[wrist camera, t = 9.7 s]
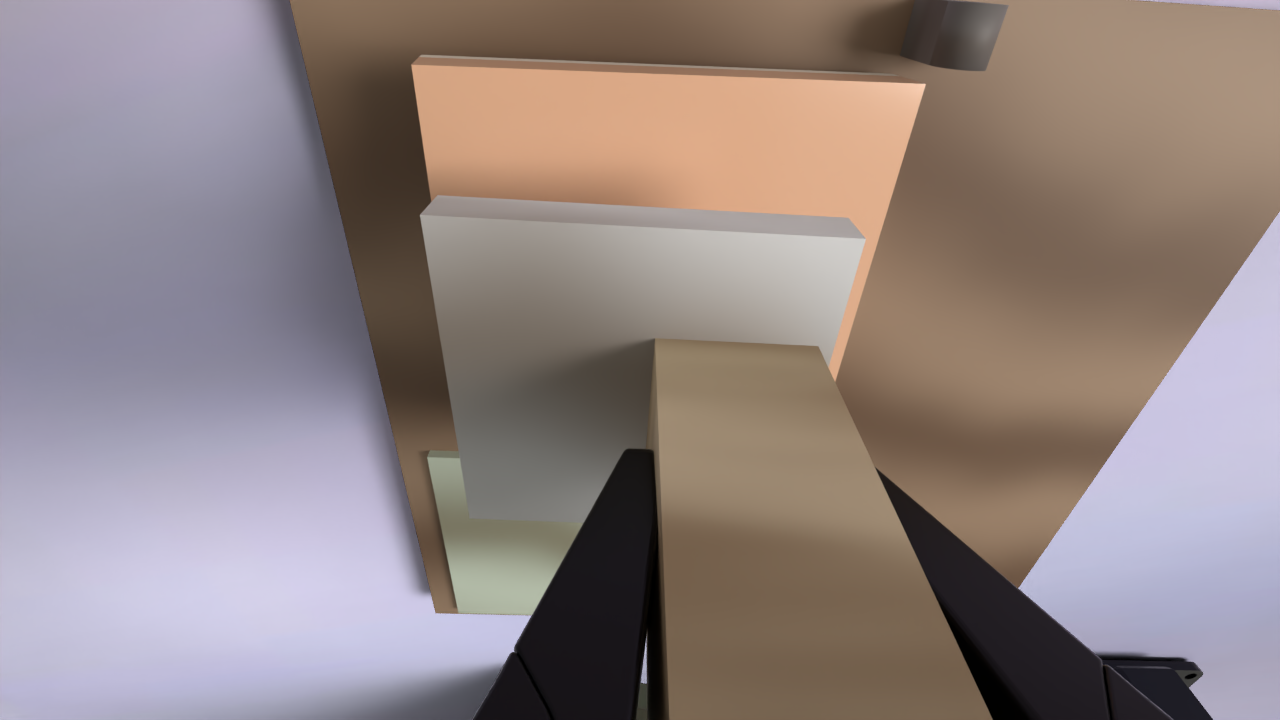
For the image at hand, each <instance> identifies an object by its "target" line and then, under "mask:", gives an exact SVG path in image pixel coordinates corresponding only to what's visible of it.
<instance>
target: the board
mask: <svg viewBox="0 0 1280 720" xmlns="http://www.w3.org/2000/svg"><path fill="white" fill-rule="evenodd" d="M290 5H291V9H292V13H293V17H294V21H295V26H296V30H297V34H298V38H299V42H300V46H301V51H302V55H303V59H304V63H305V67H306V72H307V76H308V80H309V84H310V88H311V93H312V97H313V101H314V105H315V109H316V114H317V118H318V122H319V126H320V130H321V135H322V139H323V143H324V147H325V151H326V155H327V160H328V164H329V168H330V172H331V176H332V181H333V185H334V189H335V193H336V197H337V202H338V206H339V210H340V214H341V218H342V223H343V227H344V231H345V235H346V239H347V244H348V248H349V252H350V256H351V260H352V264H353V269H354V273H355V277H356V281H357V285H358V290H359V294H360V298H361V302H362V306H363V311H364V315H365V319H366V323H367V327H368V332H369V336H370V340H371V344H372V348H373V353H374V357H375V361H376V365H377V369H378V373H379V378H380V382H381V386H382V390H383V394H384V399H385V403H386V407H387V411H388V415H389V420H390V424H391V428H392V432H393V436H394V441H395V445H396V449H397V453H398V457H399V462H400V466H401V470H402V474H403V478H404V482H405V487H406V491H407V495H408V499H409V503H410V508H411V512H412V516H413V520H414V524H415V529H416V533H417V537H418V541H419V545H420V550H421V554H422V558H423V562H424V566H425V571H426V575H427V579H428V583H429V587H430V591H431V596H432V600H433V604H434V608H435V612H436V613H452V614H496V615H532V614H533V612H534V611H535V609H536V607H537V605H538V603H539V602H540V600H541V598H542V596H543V594H544V593H545V591H546V589H547V587H548V585H549V584H550V582H551V580H552V578H553V576H554V575H555V573H556V571H557V569H558V568H559V566H560V564H561V562H562V560H563V559H564V557H565V555H566V553H567V551H568V550H569V548H570V546H571V544H572V542H573V541H574V539H575V537H576V535H577V534H578V532H579V530H580V528H581V526H582V525H583V523H575V522H549V521H523V520H496V519H470V518H469V512H468V506H467V499H466V493H465V487H464V481H463V475H462V469H461V463H460V457H459V451H458V444H457V438H456V432H455V426H454V420H453V414H452V408H451V402H450V396H449V389H448V383H447V377H446V371H445V365H444V359H443V353H442V347H441V341H440V335H439V328H438V322H437V316H436V310H435V304H434V298H433V292H432V286H431V280H430V273H429V267H428V261H427V255H426V249H425V243H424V237H423V231H422V225H421V218H420V214H421V213H422V212H423V211H424V210H425V209H426V208H427V206H428V205H429V204H430V203H431V196H430V189H429V182H428V175H427V169H426V162H425V155H424V148H423V141H422V134H421V128H420V121H419V114H418V107H417V100H416V93H415V87H414V80H413V73H412V66H411V64H412V63H413V62H414V61H415V60H416V59H417V58H418V57H419V56H420V55H441V56H466V57H491V58H515V59H540V60H565V61H590V62H614V63H639V64H664V65H689V66H713V67H738V68H763V69H788V70H812V71H837V72H862V73H887V74H894V75H898V76H901V77H904V78H908V79H911V80H914V81H918V82H921V83H925V84H926V85H925V89H924V92H923V95H922V98H921V102H920V105H919V108H918V112H917V115H916V118H915V121H914V125H913V128H912V131H911V135H910V138H909V141H908V144H907V148H906V151H905V154H904V158H903V161H902V164H901V167H900V171H899V174H898V177H897V181H896V184H895V187H894V190H893V194H892V197H891V200H890V204H889V207H888V210H887V213H886V217H885V220H884V223H883V227H882V230H881V233H880V236H879V240H878V243H877V246H876V250H875V253H874V256H873V259H872V263H871V266H870V269H869V273H868V276H867V279H866V282H865V286H864V289H863V292H862V295H861V299H860V302H859V305H858V309H857V312H856V315H855V318H854V322H853V325H852V328H851V332H850V335H849V338H848V341H847V345H846V348H845V351H844V355H843V358H842V361H841V364H840V368H839V371H838V374H837V378H836V381H835V383H836V385H837V387H838V389H839V392H840V394H841V396H842V398H843V400H844V402H845V404H846V407H847V409H848V411H849V413H850V415H851V417H852V419H853V421H854V424H855V426H856V428H857V430H858V432H859V434H860V436H861V439H862V441H863V443H864V445H865V447H866V449H867V451H868V454H869V456H870V458H871V460H872V462H873V464H874V466H875V467H876V468H877V469H878V470H879V471H881V472H882V473H883V474H884V475H885V476H887V477H888V478H889V479H890V480H891V481H892V482H894V483H895V484H896V485H897V486H898V487H899V488H901V489H902V490H903V491H904V492H905V493H906V494H908V495H909V496H910V497H911V498H912V499H914V500H915V501H916V502H917V503H918V504H919V505H921V506H922V507H923V508H924V509H925V510H926V511H928V512H929V513H930V514H931V515H932V516H934V517H935V518H936V519H937V520H938V521H939V522H941V523H942V524H943V525H944V526H945V527H946V528H948V529H949V530H950V531H951V532H952V533H953V534H955V535H956V536H957V537H958V538H959V539H961V540H962V541H963V542H964V543H965V544H966V545H968V546H969V547H970V548H971V549H972V550H973V551H975V552H976V553H977V554H978V555H979V556H981V557H982V558H983V559H984V560H985V561H986V562H988V563H989V564H990V565H991V566H992V567H993V568H995V569H996V570H997V571H998V572H999V573H1001V574H1002V575H1003V576H1004V577H1005V578H1006V579H1008V580H1009V581H1010V582H1011V583H1012V584H1013V585H1015V586H1016V587H1017V588H1019V586H1020V585H1021V583H1022V582H1023V580H1024V579H1025V578H1026V576H1027V575H1028V573H1029V572H1030V570H1031V569H1032V567H1033V566H1034V565H1035V563H1036V562H1037V560H1038V559H1039V557H1040V556H1041V554H1042V553H1043V552H1044V550H1045V549H1046V547H1047V546H1048V544H1049V543H1050V542H1051V540H1052V539H1053V537H1054V536H1055V534H1056V533H1057V531H1058V530H1059V529H1060V527H1061V526H1062V524H1063V523H1064V521H1065V520H1066V518H1067V517H1068V516H1069V514H1070V513H1071V511H1072V510H1073V508H1074V507H1075V506H1076V504H1077V503H1078V501H1079V500H1080V498H1081V497H1082V495H1083V494H1084V493H1085V491H1086V490H1087V488H1088V487H1089V485H1090V484H1091V482H1092V481H1093V480H1094V478H1095V477H1096V475H1097V474H1098V472H1099V471H1100V469H1101V468H1102V467H1103V465H1104V464H1105V462H1106V461H1107V459H1108V458H1109V457H1110V455H1111V454H1112V452H1113V451H1114V449H1115V448H1116V446H1117V445H1118V444H1119V442H1120V441H1121V439H1122V438H1123V436H1124V435H1125V433H1126V432H1127V431H1128V429H1129V428H1130V426H1131V425H1132V423H1133V422H1134V420H1135V419H1136V418H1137V416H1138V415H1139V413H1140V412H1141V410H1142V409H1143V408H1144V406H1145V405H1146V403H1147V402H1148V400H1149V399H1150V397H1151V396H1152V395H1153V393H1154V392H1155V390H1156V389H1157V387H1158V386H1159V384H1160V383H1161V382H1162V380H1163V379H1164V377H1165V376H1166V374H1167V373H1168V372H1169V370H1170V369H1171V367H1172V366H1173V364H1174V363H1175V361H1176V360H1177V359H1178V357H1179V356H1180V354H1181V353H1182V351H1183V350H1184V348H1185V347H1186V346H1187V344H1188V343H1189V341H1190V340H1191V338H1192V337H1193V335H1194V334H1195V333H1196V331H1197V330H1198V328H1199V327H1200V325H1201V324H1202V323H1203V321H1204V320H1205V318H1206V317H1207V315H1208V314H1209V312H1210V311H1211V310H1212V308H1213V307H1214V305H1215V304H1216V302H1217V301H1218V299H1219V298H1220V297H1221V295H1222V294H1223V292H1224V291H1225V289H1226V288H1227V287H1228V285H1229V284H1230V282H1231V281H1232V279H1233V278H1234V276H1235V275H1236V274H1237V272H1238V271H1239V269H1240V268H1241V266H1242V265H1243V263H1244V262H1245V261H1246V259H1247V258H1248V256H1249V255H1250V253H1251V252H1252V250H1253V249H1254V248H1255V246H1256V245H1257V243H1258V242H1259V240H1260V239H1261V238H1262V236H1263V235H1264V233H1265V232H1266V230H1267V229H1268V227H1269V226H1270V225H1271V223H1272V222H1273V220H1274V219H1275V217H1276V216H1277V214H1278V213H1279V212H1280V10H1266V9H1251V8H1237V7H1223V6H1208V5H1194V4H1180V3H1166V2H1151V1H1137V0H290Z"/></svg>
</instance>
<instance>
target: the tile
mask: <svg viewBox="0 0 1280 720" xmlns="http://www.w3.org/2000/svg"><path fill="white" fill-rule="evenodd" d="M411 66H412V73H413V80H414V87H415V93H416V100H417V107H418V114H419V121H420V128H421V134H422V141H423V148H424V155H425V162H426V169H427V175H428V182H429V189H430V196H431V202H432V201H433V200H434V199H435V197H436V196H437V195H442V196H460V197H479V198H497V199H515V200H533V201H552V202H570V203H588V204H606V205H625V206H643V207H661V208H679V209H698V210H716V211H734V212H752V213H771V214H789V215H807V216H826V217H844V218H849V219H850V220H851V221H852V223H853V224H854V225H855V226H856V227H857V229H858V230H859V231H860V232H861V234H862V235H863V236H864V237H865V238H866V240H865V244H864V247H863V251H862V254H861V258H860V261H859V264H858V268H857V271H856V275H855V278H854V282H853V285H852V288H851V292H850V295H849V299H848V302H847V306H846V309H845V312H844V316H843V319H842V323H841V326H840V330H839V333H838V336H837V340H836V343H835V347H834V350H833V354H832V357H831V360H830V364H829V367H828V368H829V370H830V372H831V374H832V377H833V379H834V381H836V378H837V374H838V371H839V368H840V364H841V361H842V358H843V355H844V351H845V348H846V345H847V341H848V338H849V335H850V332H851V328H852V325H853V322H854V318H855V315H856V312H857V309H858V305H859V302H860V299H861V295H862V292H863V289H864V286H865V282H866V279H867V276H868V273H869V269H870V266H871V263H872V259H873V256H874V253H875V250H876V246H877V243H878V240H879V236H880V233H881V230H882V227H883V223H884V220H885V217H886V213H887V210H888V207H889V204H890V200H891V197H892V194H893V190H894V187H895V184H896V181H897V177H898V174H899V171H900V167H901V164H902V161H903V158H904V154H905V151H906V148H907V144H908V141H909V138H910V135H911V131H912V128H913V125H914V121H915V118H916V115H917V112H918V108H919V105H920V102H921V98H922V95H923V92H924V89H925V85H926V84H925V83H921V82H918V81H914V80H911V79H908V78H904V77H901V76H898V75H894V74H887V73H862V72H837V71H812V70H788V69H763V68H738V67H713V66H689V65H664V64H639V63H614V62H590V61H565V60H540V59H515V58H491V57H466V56H441V55H420V56H419V57H418V58H417V59H416V60H415V61H414V62H413V63H412V64H411Z"/></svg>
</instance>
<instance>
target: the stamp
mask: <svg viewBox="0 0 1280 720" xmlns="http://www.w3.org/2000/svg"><path fill="white" fill-rule="evenodd" d="M420 218H421V225H422V231H423V237H424V243H425V249H426V255H427V261H428V267H429V273H430V280H431V286H432V292H433V298H434V304H435V310H436V316H437V322H438V328H439V335H440V341H441V347H442V353H443V359H444V365H445V371H446V377H447V383H448V389H449V396H450V402H451V408H452V414H453V420H454V426H455V432H456V438H457V444H458V451H459V457H460V463H461V469H462V475H463V481H464V487H465V493H466V499H467V506H468V512H469V518H470V519H496V520H523V521H549V522H575V523H584V521H585V519H586V517H587V516H588V514H589V512H590V510H591V508H592V507H593V505H594V503H595V501H596V499H597V498H598V496H599V494H600V492H601V491H602V489H603V487H604V485H605V483H606V482H607V480H608V478H609V476H610V474H611V473H612V471H613V469H614V467H615V465H616V464H617V462H618V460H619V458H620V456H621V455H622V453H623V452H624V451H625V450H626V449H628V448H634V449H651V450H652V451H653V452H654V465H655V482H656V498H657V517H658V537H657V546H656V555H655V564H654V573H653V582H652V590H651V599H650V608H649V617H648V626H647V720H993V719H992V717H991V715H990V713H989V710H988V708H987V706H986V704H985V702H984V700H983V698H982V695H981V693H980V691H979V689H978V687H977V685H976V683H975V681H974V678H973V676H972V674H971V672H970V670H969V668H968V666H967V663H966V661H965V659H964V657H963V655H962V653H961V651H960V648H959V646H958V644H957V642H956V640H955V638H954V636H953V633H952V631H951V629H950V627H949V625H948V623H947V621H946V618H945V616H944V614H943V612H942V610H941V608H940V606H939V603H938V601H937V599H936V597H935V595H934V593H933V591H932V588H931V586H930V584H929V582H928V580H927V578H926V576H925V573H924V571H923V569H922V567H921V565H920V563H919V561H918V558H917V556H916V554H915V552H914V550H913V548H912V546H911V544H910V541H909V539H908V537H907V535H906V533H905V531H904V529H903V526H902V524H901V522H900V520H899V518H898V516H897V514H896V511H895V509H894V507H893V505H892V503H891V501H890V499H889V496H888V494H887V492H886V490H885V488H884V486H883V484H882V481H881V479H880V477H879V475H878V473H877V471H876V469H875V466H874V464H873V462H872V460H871V458H870V456H869V454H868V451H867V449H866V447H865V445H864V443H863V441H862V439H861V436H860V434H859V432H858V430H857V428H856V426H855V424H854V421H853V419H852V417H851V415H850V413H849V411H848V409H847V407H846V404H845V402H844V400H843V398H842V396H841V394H840V392H839V389H838V387H837V385H836V383H835V381H834V379H833V377H832V374H831V372H830V370H829V368H828V367H829V364H830V360H831V357H832V354H833V350H834V347H835V343H836V340H837V336H838V333H839V330H840V326H841V323H842V319H843V316H844V312H845V309H846V306H847V302H848V299H849V295H850V292H851V288H852V285H853V282H854V278H855V275H856V271H857V268H858V264H859V261H860V258H861V254H862V251H863V247H864V244H865V240H866V238H865V237H864V236H863V235H862V234H861V232H860V231H859V230H858V229H857V227H856V226H855V225H854V224H853V223H852V221H851V220H850V219H849V218H844V217H826V216H807V215H789V214H771V213H752V212H734V211H716V210H698V209H679V208H661V207H643V206H625V205H606V204H588V203H570V202H552V201H533V200H515V199H497V198H479V197H460V196H442V195H437V196H436V197H435V199H434V200H433V201H432V202H431V203H430V204H429V205H428V206H427V208H426V209H425V210H424V211H423V212H422V213H421V214H420Z"/></svg>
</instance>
